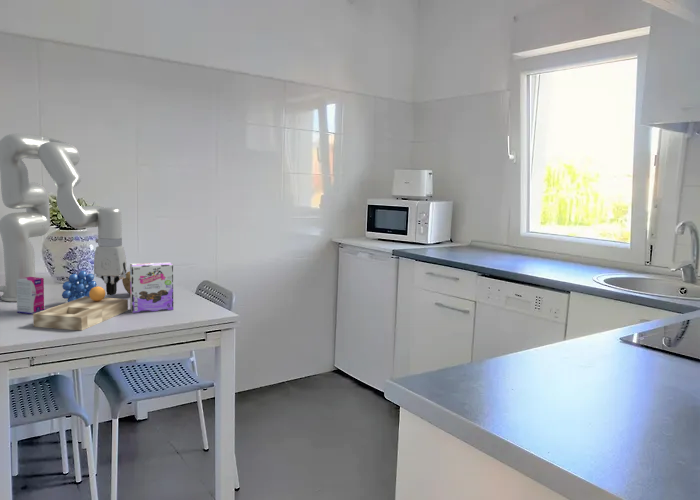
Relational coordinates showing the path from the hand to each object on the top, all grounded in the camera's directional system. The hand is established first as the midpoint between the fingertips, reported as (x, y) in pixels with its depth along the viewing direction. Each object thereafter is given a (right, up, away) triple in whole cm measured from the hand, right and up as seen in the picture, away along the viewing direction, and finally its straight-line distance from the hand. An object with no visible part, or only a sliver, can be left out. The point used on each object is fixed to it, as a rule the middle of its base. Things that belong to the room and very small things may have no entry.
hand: (111, 294), depth 187 cm
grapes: (-14, -4, +4) cm, 15 cm away
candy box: (+15, -6, -1) cm, 16 cm away
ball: (-1, +1, -8) cm, 8 cm away
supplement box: (-23, -5, -9) cm, 25 cm away
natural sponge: (+1, -2, +20) cm, 20 cm away
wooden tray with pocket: (-2, -7, -15) cm, 16 cm away
